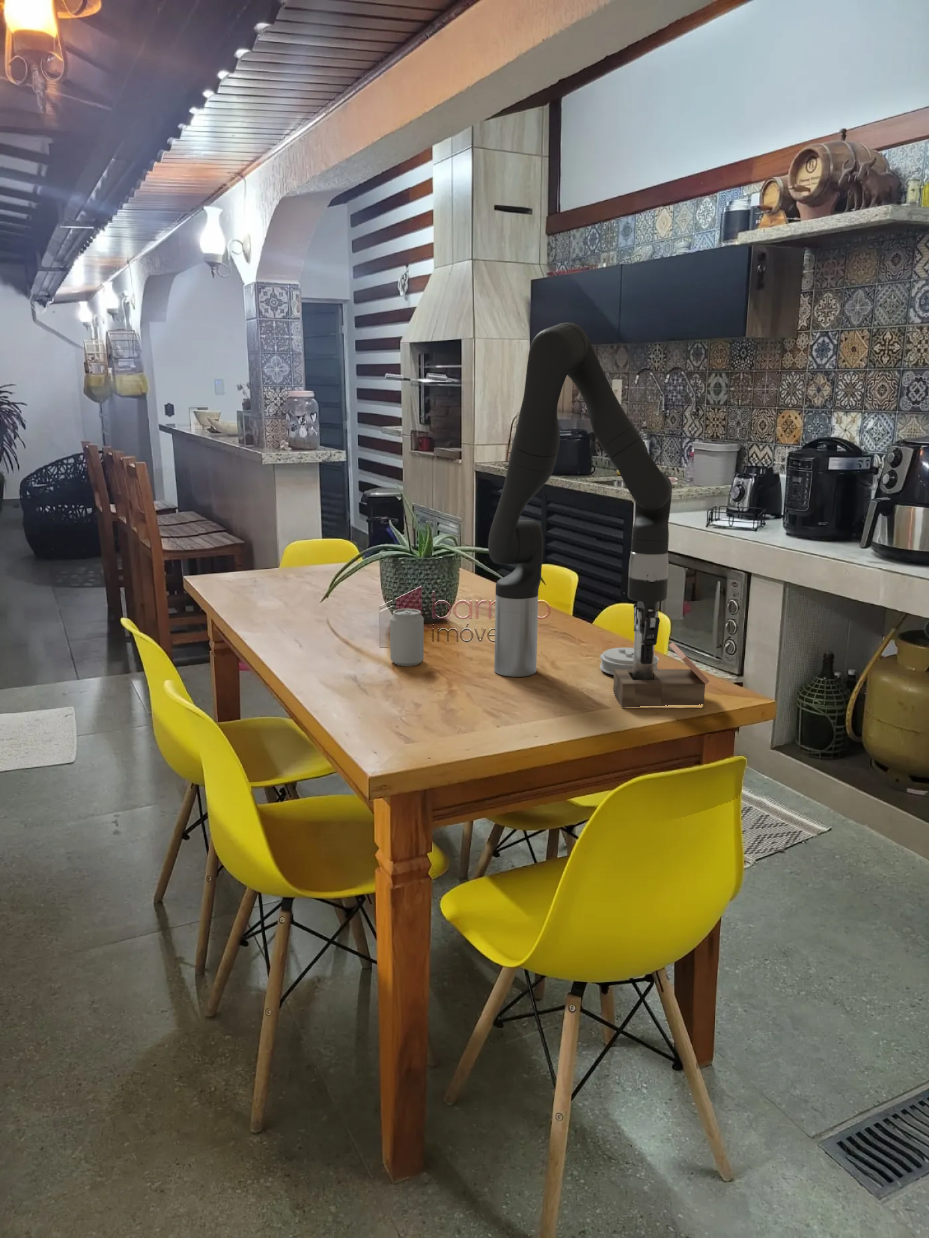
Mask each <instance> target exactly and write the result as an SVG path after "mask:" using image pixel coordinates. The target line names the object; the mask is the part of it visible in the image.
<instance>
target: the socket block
mask: <svg viewBox="0 0 929 1238" xmlns="http://www.w3.org/2000/svg"><path fill="white" fill-rule="evenodd" d="M632 675H633V669H614V675H613V686H612V693H613V692H614V693H613V695H614V694H615V695H614V697H615V696H616V697H615V699H616V698H617V699H616V700H618V701H617V702H618V704H619V706H620V705H621V706H620V708H621V707H640V706H665V705H667V706H668V705H699V704H700V705H701V704H704V705H705V691H706V690H705V689H706V684H705V683H704V682H703V681H702V680H701V679H700V678H699V677H698V676H697V675H696V674H695V673H694V672H693V671H692V670H691V669H690V668H687V669H684V668H683V669H682V668H680V669H679V668H674V669H673V668H671V669H668V668H667V669H666V668H664V669H663V668H658V669H653V680H633V679H632Z"/></svg>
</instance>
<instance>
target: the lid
mask: <svg viewBox="0 0 929 1238" xmlns="http://www.w3.org/2000/svg"><path fill="white" fill-rule="evenodd" d="M633 656H634V647H613V648H608V649H606V650H605V651H604V652H603V653H601V654H600V656H599V658H600V660H601V663H600V665H599V669H600V670H601V671H602V672H603V673H606V674H609V675H613V676H614V669H633ZM659 660H660V659H659V656H657V655H655V653H654V667H653V669H659V668H658V662H659Z"/></svg>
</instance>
